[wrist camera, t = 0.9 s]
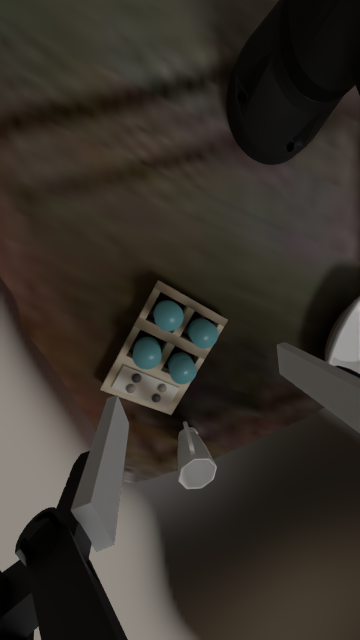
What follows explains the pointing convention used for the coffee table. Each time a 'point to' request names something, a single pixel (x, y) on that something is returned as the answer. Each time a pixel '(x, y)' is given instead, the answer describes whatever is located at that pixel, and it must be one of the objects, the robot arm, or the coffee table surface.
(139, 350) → the button
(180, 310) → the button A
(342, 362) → the bowl
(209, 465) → the cup
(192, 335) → the button
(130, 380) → the board
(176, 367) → the button
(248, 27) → the coffee table surface
